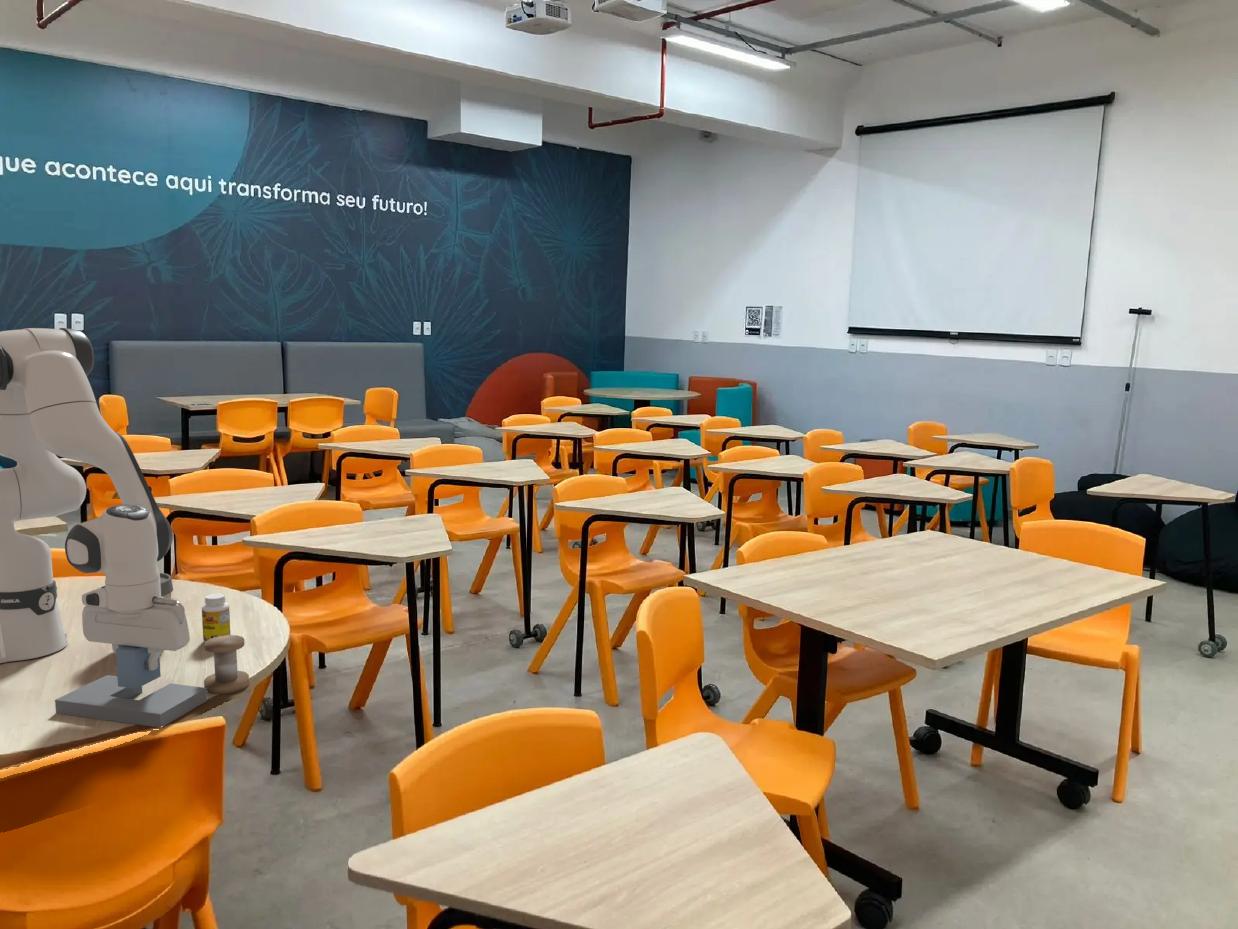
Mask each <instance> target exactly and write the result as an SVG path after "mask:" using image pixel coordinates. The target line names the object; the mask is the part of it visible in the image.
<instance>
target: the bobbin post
mask: <svg viewBox="0 0 1238 929" xmlns="http://www.w3.org/2000/svg"><path fill="white" fill-rule="evenodd" d="M245 644H246V643H245V638H244V637H243V636H241V635H235V634H231V635H225V636H219V637H214V638H211V639H209V640H207V641H206V642H204V650H205V651H206V652H209V653H213V663H214V673H213V674H210V675H209V676H207V677H205V678H204V679H203V688H207V691H208V692H210V693H209V694H211V693H212V694H213V695H226V694H227V695H228V694H232V693H236V692H239V691H242V690H244V689H246V688H247V687H248V686H249V685H250V675H249V674H248V673H247V672H245V671H241V670H238V656H237V653H238V652H237V651H238V650H240V649H242V648H243V647H245ZM208 692H207V693H208Z"/></svg>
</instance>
